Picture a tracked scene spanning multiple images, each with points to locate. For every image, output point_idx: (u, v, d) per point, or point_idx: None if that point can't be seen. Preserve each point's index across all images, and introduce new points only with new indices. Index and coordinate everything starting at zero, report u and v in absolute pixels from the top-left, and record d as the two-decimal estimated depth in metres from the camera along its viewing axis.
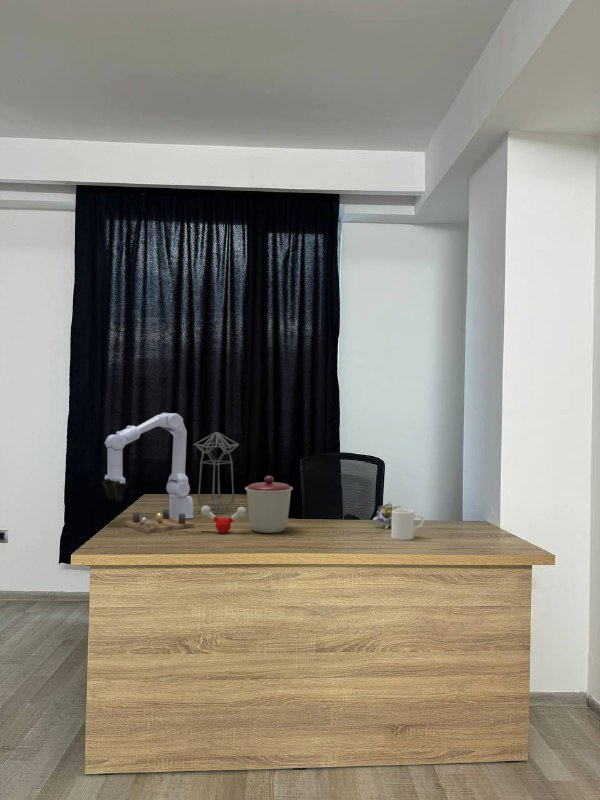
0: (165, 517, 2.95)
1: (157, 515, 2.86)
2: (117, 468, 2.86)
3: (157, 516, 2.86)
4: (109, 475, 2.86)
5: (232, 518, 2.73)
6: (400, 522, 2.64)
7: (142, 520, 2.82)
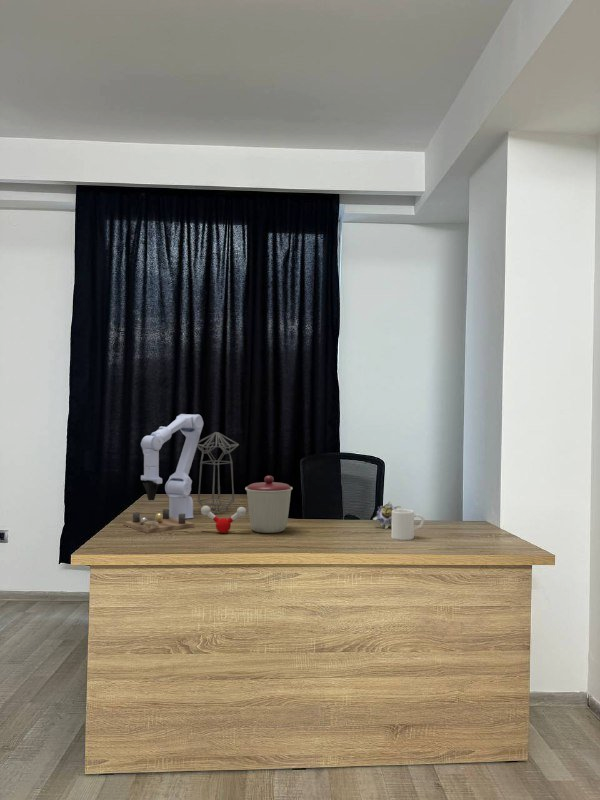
0: (165, 517, 2.95)
1: (157, 515, 2.86)
2: (154, 469, 2.89)
3: (157, 516, 2.86)
4: (146, 476, 2.89)
5: (232, 518, 2.73)
6: (400, 522, 2.64)
7: (142, 520, 2.82)
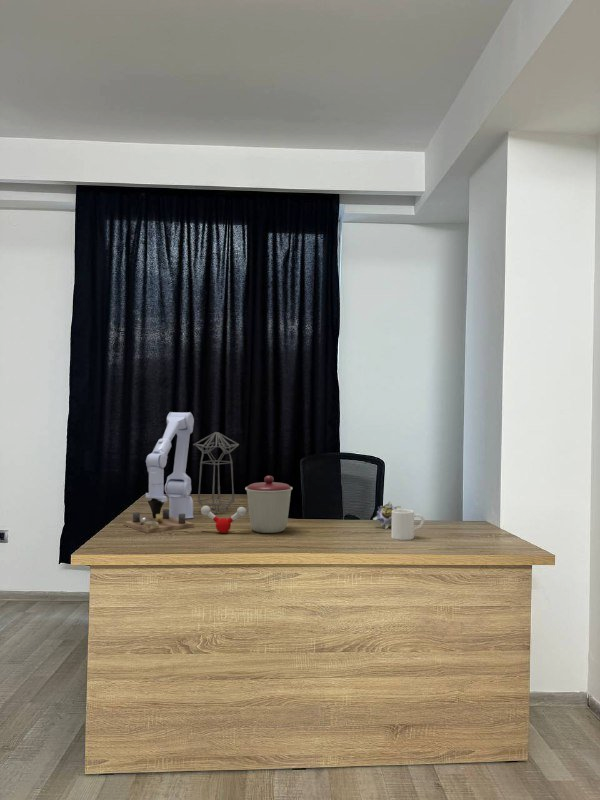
0: (165, 517, 2.95)
1: (157, 515, 2.86)
2: (159, 487, 2.86)
3: (157, 516, 2.86)
4: (151, 494, 2.86)
5: (232, 518, 2.73)
6: (400, 522, 2.64)
7: (142, 520, 2.82)
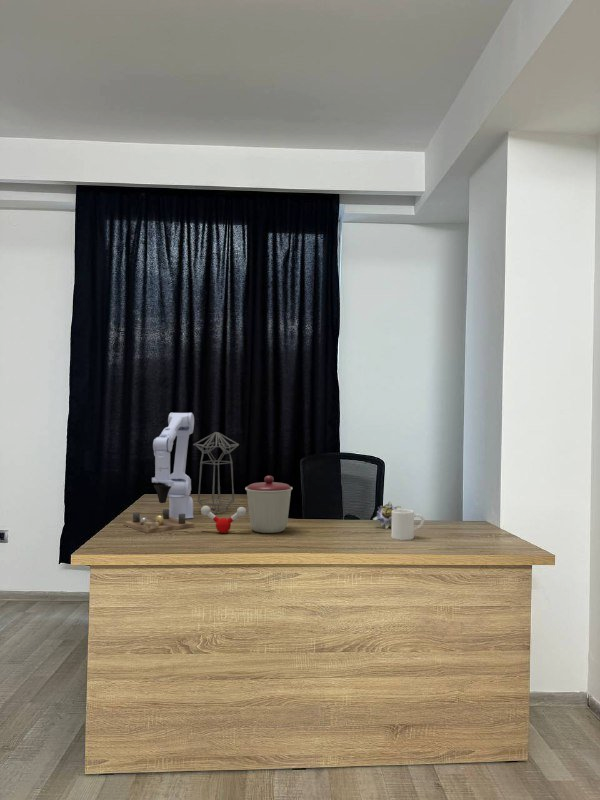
0: (165, 517, 2.95)
1: (156, 517, 2.81)
2: (165, 471, 2.83)
3: (156, 518, 2.81)
4: (157, 478, 2.84)
5: (232, 518, 2.73)
6: (400, 522, 2.64)
7: (141, 520, 2.82)
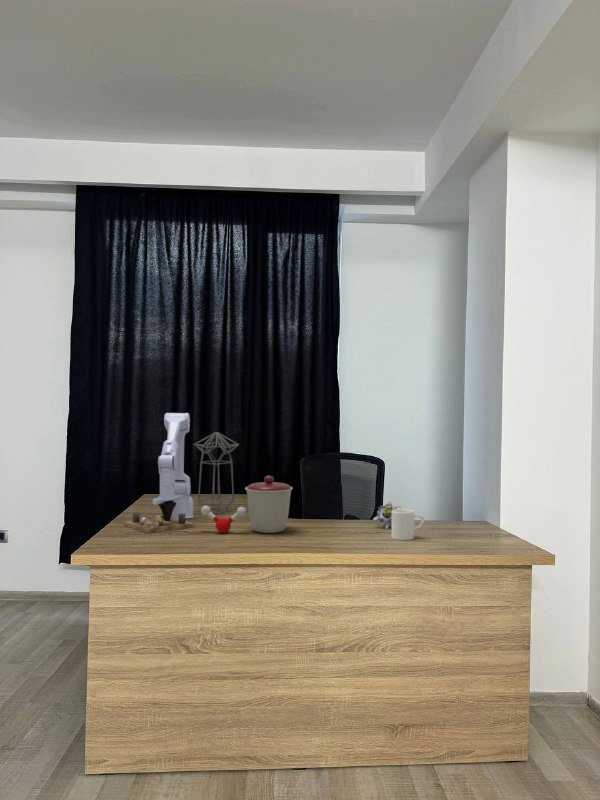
0: None
1: (156, 517, 2.81)
2: (162, 489, 2.80)
3: (156, 518, 2.81)
4: None
5: (232, 518, 2.73)
6: (400, 522, 2.64)
7: (141, 520, 2.82)
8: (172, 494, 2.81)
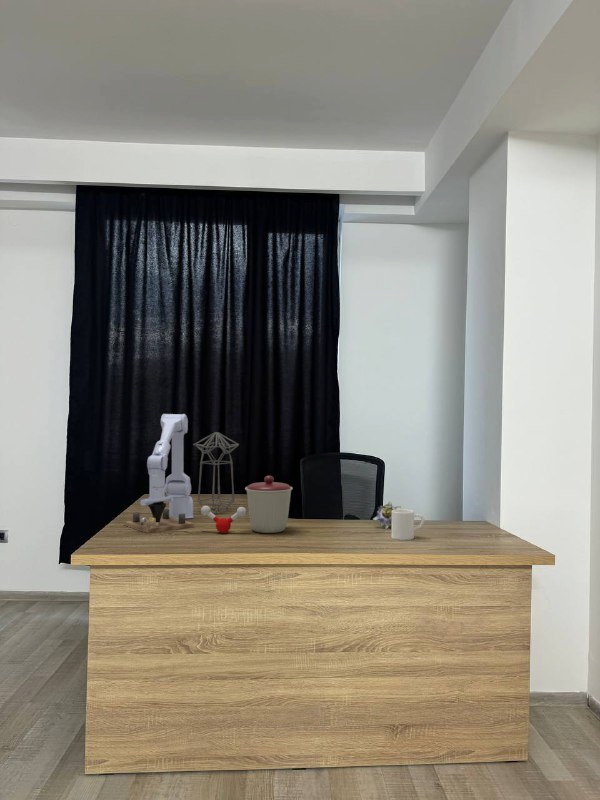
0: (165, 517, 2.95)
1: None
2: (151, 490, 2.78)
3: None
4: None
5: (232, 518, 2.73)
6: (400, 522, 2.64)
7: None
8: (161, 495, 2.78)
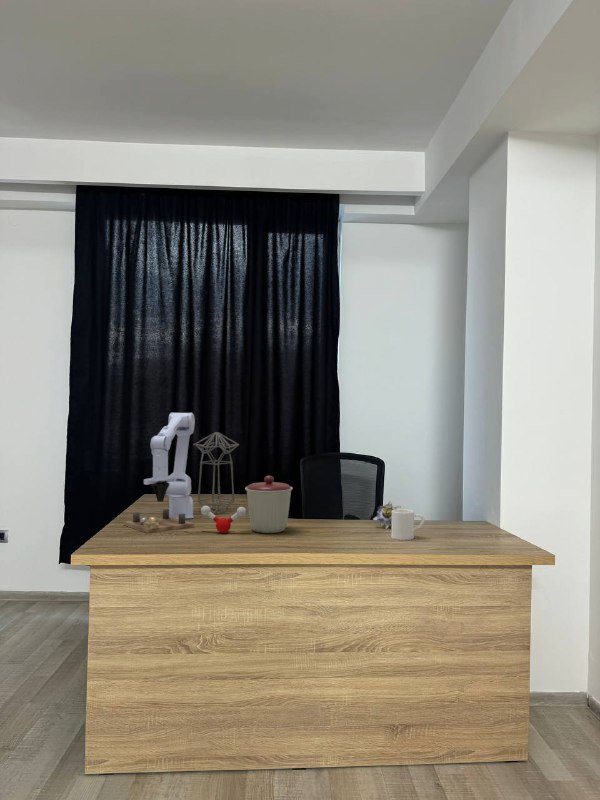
0: (165, 517, 2.95)
1: None
2: (154, 469, 2.84)
3: None
4: None
5: (232, 518, 2.73)
6: (400, 522, 2.64)
7: None
8: (164, 475, 2.84)
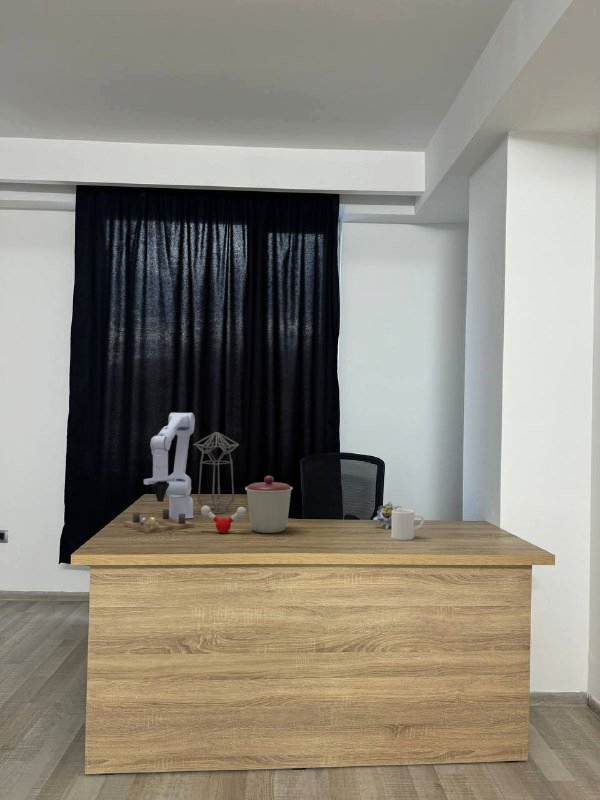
0: (165, 517, 2.95)
1: None
2: (154, 469, 2.84)
3: None
4: None
5: (232, 518, 2.73)
6: (400, 522, 2.64)
7: None
8: (164, 475, 2.84)
